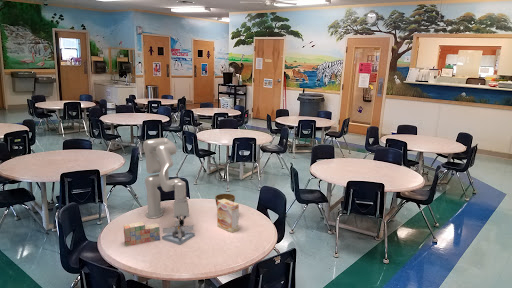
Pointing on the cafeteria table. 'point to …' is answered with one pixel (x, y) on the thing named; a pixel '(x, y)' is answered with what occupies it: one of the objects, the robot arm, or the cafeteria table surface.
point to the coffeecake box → (227, 215)
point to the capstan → (178, 230)
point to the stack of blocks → (140, 233)
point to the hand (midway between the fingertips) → (181, 225)
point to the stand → (178, 240)
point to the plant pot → (225, 197)
